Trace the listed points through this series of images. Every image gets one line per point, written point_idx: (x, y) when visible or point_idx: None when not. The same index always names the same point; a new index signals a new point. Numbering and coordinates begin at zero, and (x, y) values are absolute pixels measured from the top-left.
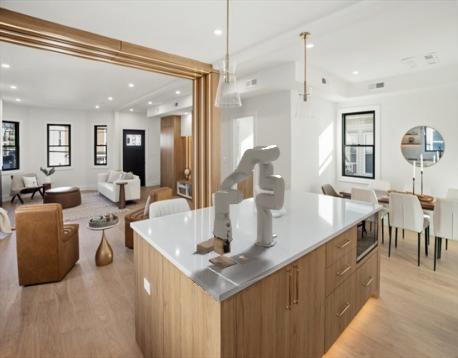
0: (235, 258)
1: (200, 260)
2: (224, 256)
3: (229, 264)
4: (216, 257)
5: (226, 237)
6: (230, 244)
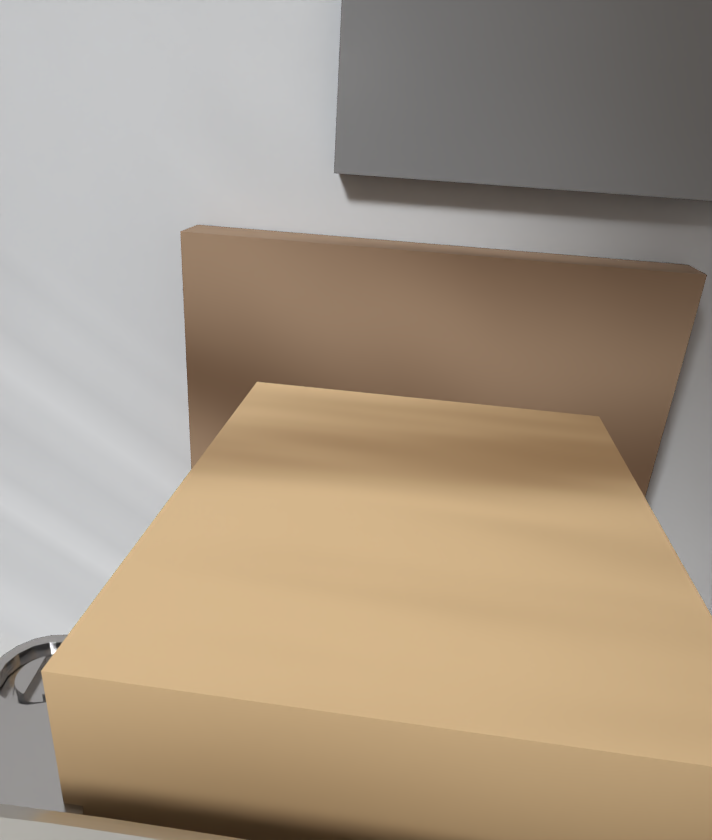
0: (494, 98)
1: (89, 574)
2: (272, 258)
3: (638, 454)
4: (208, 408)
5: (377, 721)
6: (678, 559)
